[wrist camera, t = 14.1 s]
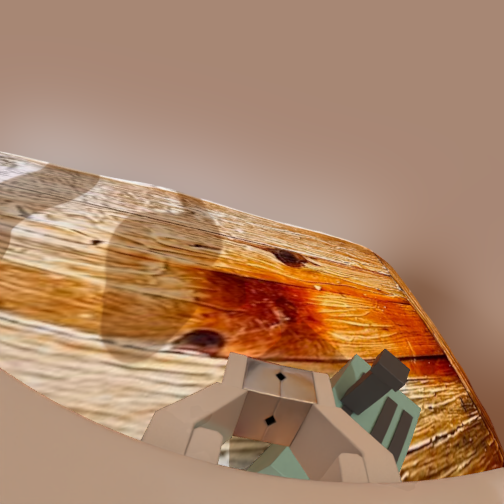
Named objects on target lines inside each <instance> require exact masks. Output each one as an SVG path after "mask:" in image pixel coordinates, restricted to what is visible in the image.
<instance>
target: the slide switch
mask: <svg viewBox="0 0 504 504" xmlns="http://www.w3.org/2000/svg"><path fill="white" fill-rule="evenodd" d="M409 371H410V369H409V368H407V367H406V366H405V365H404V364H403V363H402V362H400V361H399V360H398V359H397V358H396V357H395V356H393V355H392V354H391V353H390V352H389V351H388V350H386V349H384V350H383V351H382V352H381V353H380V354H379V355H378V356H377V357H376V359H375V361H374V363H373V365H372V367H371V369H370V370H369V371H368V372H367V373H365V374H364V375H363V376H362V377H361V378H360V379H359V380H358V381H357V382H356V383H354V384H353V385H352V386H351V387H350V388H349V389H348V390H347V391H346V393H345V394H344V396H343V397H342V399H341V400H340V401H341V402H342V403H343V404H344V405H345V406H347V407H348V408H349V409H350V410H351V411H353V412H354V413H355V414H356V415H360V414H361V413H362V412H364V411H365V410H366V409H368V408H369V407H370V406H371V405H373V404H374V403H375V402H377V401H378V400H379V399H380V398H382V397H383V396H384V395H385V394H387V393H388V392H389V391H390V390H391V389H392V390H393V391H395V392H397V391H398V390H399V389H400V388H401V387H403V386H404V385H405V383H406V380H407V377H408V374H409Z"/></svg>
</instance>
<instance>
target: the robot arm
mask: <svg viewBox="0 0 504 504" xmlns="http://www.w3.org/2000/svg"><path fill="white" fill-rule="evenodd" d="M232 436H237V437H242V438H247V439H252V440H258V441H263V442H267V443H272V444H277V445H282V446H287V447H290V450H291V451H292V453H293V455H294V456H295V458H296V459H297V461H298V462H299V464H300V465H301V467H302V468H303V470H304V471H305V473H306V474H307V476H308V477H309V479H310V480H305V479H296V478H288V477H280V476H274V475H267V474H261V473H256V472H250V471H245V470H240V469H235V468H231V467H226V466H222V465H218V460H219V455H220V450H221V446H222V445H223V444H224V443H225V442H226V441H228V440H229V439H230V438H231V437H232ZM0 504H504V467H503V468H499V469H494V470H490V471H485V472H480V473H475V474H470V475H464V476H458V477H451V478H444V479H436V480H426V481H414V482H402V481H401V478H400V474H399V471H398V468H397V465H396V462H395V459H394V456H393V454H392V453H391V452H390V451H388V450H387V449H386V448H385V447H384V446H383V445H381V444H380V443H379V442H378V441H377V440H376V439H375V438H374V437H372V436H371V435H370V434H369V433H368V432H367V431H366V430H364V429H363V428H362V427H361V426H360V425H359V424H358V423H357V422H356V421H354V420H353V419H352V418H351V417H350V416H349V415H348V414H347V413H346V412H345V411H343V410H342V409H341V408H338V407H336V404H335V400H334V396H333V391H332V387H331V383H330V379H329V375H328V374H326V373H320V372H313V371H307V370H301V369H296V368H291V367H286V366H281V365H279V364H275V363H271V362H267V361H263V360H259V359H256V358H252V357H247V356H245V355H241V354H237V353H233V352H230V354H229V358H228V362H227V365H226V369H225V372H224V376H223V380H222V383H218V382H216V383H214V384H212V385H210V386H208V387H206V388H204V389H202V390H200V391H198V392H196V393H194V394H192V395H190V396H187V397H185V398H183V399H181V400H179V401H177V402H175V403H173V404H170V405H168V406H166V407H164V408H162V409H159V410H157V411H155V413H154V415H153V417H152V419H151V421H150V423H149V425H148V427H147V429H146V431H145V433H144V435H143V437H142V439H141V441H140V440H137V439H134V438H132V437H129V436H127V435H124V434H122V433H119V432H117V431H114V430H112V429H110V428H107V427H105V426H103V425H101V424H98V423H96V422H94V421H92V420H90V419H88V418H86V417H84V416H81V415H79V414H77V413H75V412H73V411H71V410H70V409H68V408H66V407H64V406H62V405H60V404H58V403H56V402H54V401H53V400H51V399H49V398H47V397H46V396H44V395H42V394H40V393H39V392H37V391H35V390H34V389H32V388H30V387H29V386H27V385H25V384H24V383H22V382H21V381H19V380H18V379H16V378H15V377H13V376H11V375H10V374H8V373H7V372H6V371H4V370H3V369H1V368H0Z"/></svg>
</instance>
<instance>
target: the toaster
mask: <svg viewBox="0 0 504 504" xmlns="http://www.w3.org/2000/svg"><path fill="white" fill-rule="evenodd" d="M370 369H371V366H370V365H369V364H367V363H366V362H365V361H364V360H363V359H362V358H360V357H359V356H358V355H357V354H356V355H355V356H354V357H353V358H352V359H351V360H350V361H349V362H348V363H347V364H346V365H345V366H344V367H343V368H342V369H341V370H340V371H339V372H337V373H336V374H335V375H334V376H333V377H332V378H331V379H330V383H331V387H332V391H333V396H334V400H335V404H336V407H338V408H341V409H342V410H343V411H345V412H346V413H347V414H348V415H349V416H350V417H351V418H352V419H353V420H354V421H356V422H357V423H358V424H359V425H360V426H361V427H362V428H363V429H364V430H366V431H367V432H368V433H369V434H370V435H371V436H372V437H374V438H375V439H376V440H377V441H378V442H379V443H380V444H381V445H383V446H384V447H385V448H386V449H387V450H388V451H390V452H391V453H392V454H393V456H394V459H395V462H396V465H397V468H398V471H399V472H400V469H401V467H402V464H403V462H404V459H405V456H406V453H407V451H408V448H409V445H410V442H411V439H412V436H413V433H414V430H415V427H416V424H417V421H418V417H419V414H420V411H421V408H419V407H418V406H417V405H416V404H415V403H413V402H412V401H411V400H410V399H409V398H408V397H406V396H405V395H404V394H403V393H402V392H400V391H399V390H398V391H397V392H395V391H393V390H392V389H391V390H390V391H389V392H388V393H387V394H385V395H384V396H383V397H382V398H380V399H379V400H378V401H377V402H375V403H374V404H373V405H371V406H370V407H369V408H368V409H366V410H365V411H364V412H362V413H361V414H360V415H356V414H355V413H354V412H353V411H351V410H350V409H349V408H348V407H347V406H345V405H344V404H343V403H342V402H341V401H340V400H341V399H342V397H343V396H344V394H345V393H346V391H347V390H348V389H349V388H350V387H351V386H352V385H353V384H354V383H356V382H357V381H358V380H359V379H360V378H361V377H362V376H363V375H364V374H365V373H367V372H368V371H369V370H370ZM246 471H250V472H256V473H261V474H267V475H274V476H280V477H288V478H296V479H305V480H310V479H309V477H308V476H307V474H306V473H305V471H304V470H303V468H302V467H301V465H300V464H299V462H298V461H297V459H296V458H295V456H294V455H293V453H292V451H291V450H290V447H287V446H282V445H277V444H271V445H270V446H269V447H268V448H267V449H266V450H265V451H264V452H263V453H262V454H261V456H260V457H259V458H258V459H257V460H256V461H255V462H254V463H253V464H252V465H251V466H250V467H249V468H248V469H247V470H246Z"/></svg>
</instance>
